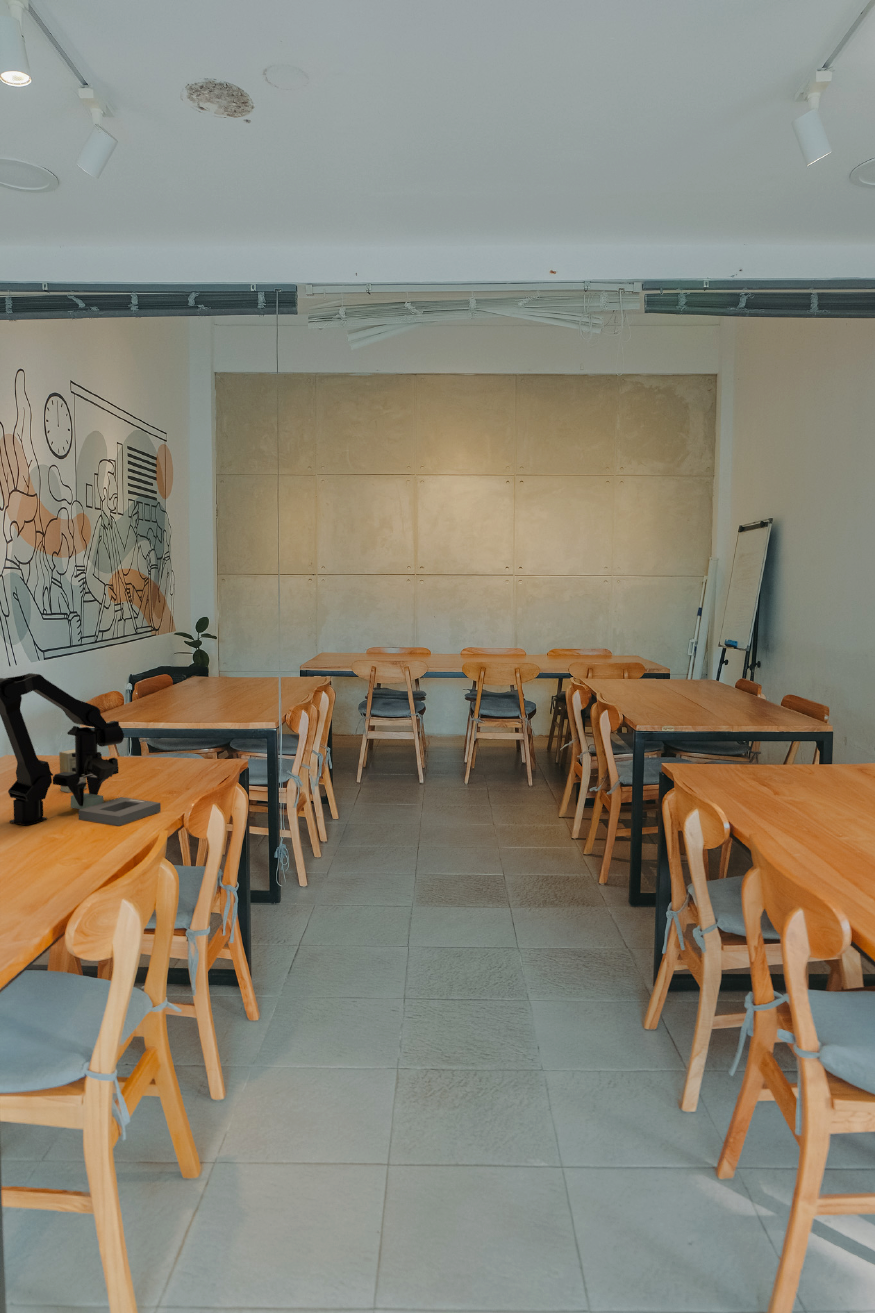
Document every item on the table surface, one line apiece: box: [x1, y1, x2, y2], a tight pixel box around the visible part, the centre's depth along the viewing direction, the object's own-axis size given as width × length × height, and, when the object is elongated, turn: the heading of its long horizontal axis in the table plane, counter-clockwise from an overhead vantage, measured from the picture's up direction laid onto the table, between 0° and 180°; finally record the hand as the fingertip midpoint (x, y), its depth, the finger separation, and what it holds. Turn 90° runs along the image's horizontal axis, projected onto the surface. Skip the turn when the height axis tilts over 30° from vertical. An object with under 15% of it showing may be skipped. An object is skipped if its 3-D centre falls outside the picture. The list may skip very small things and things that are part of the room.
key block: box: [70, 792, 104, 810], centre depth 228 cm, size 4×8×4 cm, turn 68°
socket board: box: [77, 796, 162, 827], centre depth 221 cm, size 16×14×3 cm
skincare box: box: [58, 748, 87, 794], centre depth 247 cm, size 6×4×12 cm
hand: (87, 803), depth 228 cm, fingers closed on key block, 4 cm apart
